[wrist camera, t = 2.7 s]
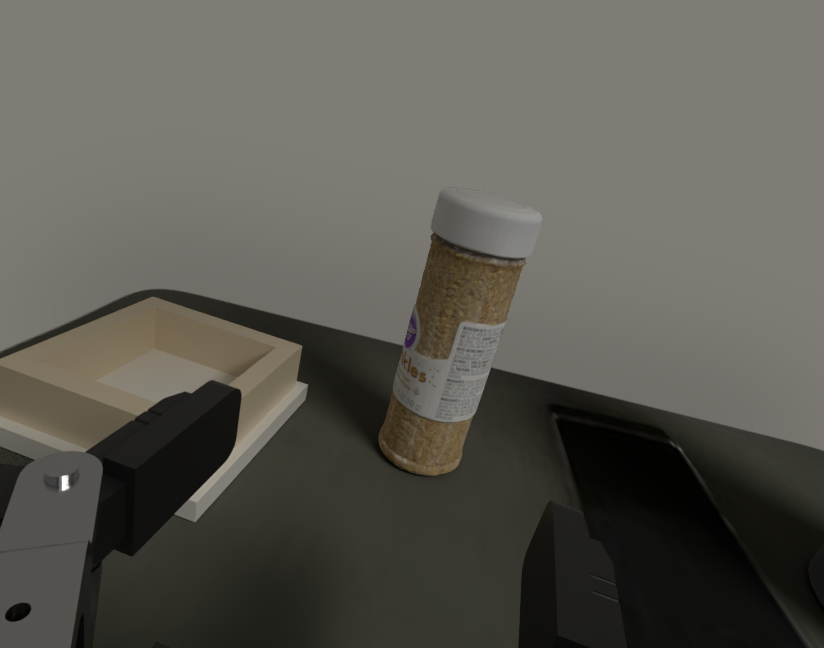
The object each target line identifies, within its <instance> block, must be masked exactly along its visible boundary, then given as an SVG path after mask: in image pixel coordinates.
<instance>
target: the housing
mask: <svg viewBox="0 0 824 648" xmlns="http://www.w3.org/2000/svg"><path fill="white" fill-rule="evenodd" d="M301 351H302V345H298V344H295V343H292V342H289V341H286V340H283V339H280V338H277V337H274V336H271V335H268V334H265V333H262V332H259V331H256V330H253V329H250V328H247V327H244V326H241V325H238V324H235V323H232V322H229V321H225V320H222V319H219V318H216V317H213V316H210V315H207V314H204V313H201V312H198V311H195V310H192V309H189V308H186V307H183V306H180V305H177V304H174V303H171V302H168V301H165V300H162V299H159V298H156V297H151V298H148V299H146V300H143V301H141V302H138V303H136V304H133V305H131V306H129V307H126V308H124V309H121V310H119V311H116V312H114V313H111V314H109V315H107V316H104V317H102V318H99V319H97V320H94V321H92V322H89V323H87V324H85V325H82V326H80V327H77V328H75V329H72V330H70V331H67V332H65V333H63V334H60V335H58V336H55V337H53V338H50V339H48V340H45V341H43V342H40V343H38V344H36V345H33V346H31V347H28V348H26V349H23V350H21V351H18V352H16V353H14V354H11V355H9V356H6V357H4V358H1V359H0V446H1V447H3V448H6V449H8V450H11V451H13V452H16V453H18V454H21V455H24V456H26V457H29V458H31V459H34V460H36V459H38V458H41V457H43V456H46V455H49V454H52V453H57V452H64V451H79V452H86V451H87V450H89V449H90V448H91V447H93V446H94V445H96V444H97V443H99V442H100V441H102V440H103V439H105V438H106V437H108V436H109V435H111V434H112V433H114V432H115V431H117V430H118V429H119V428H121V427H122V426H124V425H125V424H127V423H128V422H130V421H131V420H133V421H134V420H135V418H136V417H137V416H139V415H140V414H142V413H143V412H144V411H146V412H147V411H148V409H149V408H150V407H152V406H153V405H155V404H156V403H158V402H159V401H161V400H162V399H164V398H166V397H169V396H172V395H175V394H179V393H182V392H185V391H186V392H188V393H193V392H194V391H196V390H197V389H198V388H200V387H201V386H203V385H204V384H205V383H207V382H208V381H210V380H214V381H217V382H220V383H223V384H226V385H229V386H231V387H234V388H237V389H240V391H241V394H242V399H241V407H240V414H239V422H238V430H237V438H236V442H235V446H234V448H233V451H232V453H231V454H230V456H229V458H228V459H227V461H226V462H225V463H224V464H223V465H222V466H221V467H220V468H219V469H218V470H217V471H216V472H215V473H214V474H213V475H212V476H211V477H210V478H209V479H208V480H207V481H206V482H205V483H204V484H203V485H202V486H201V487H200V488H199V489H198V490H197V491H196V492H195V493H194V495H193V496H192V497H191V498H190V499H189V500H188V501H187V502H186V503H185V504H184V505H183V506H182V507H181V508H180V509H179V510H178V511H177V512H176V513H175V515H177V516H180V517H182V518H185V519H187V520H190V521H193V522H196V521H197V520H198V519H199V517H200V516H201V515H202V514H203V513H204V512H205V511H206V510H207V509H208V507H209V506H210V505H211V504H212V503H213V502H214V501H215V500H216V499H217V497H218V496H219V495H220V494H221V493H222V492H223V491H224V490H225V489H226V487H227V486H228V485H229V484H230V483H231V482H232V481H233V480H234V479H235V477H236V476H237V475H238V474H239V473H240V472H241V471H242V470H243V469H244V467H245V466H246V465H247V464H248V463H249V462H250V461H251V460H252V459H253V457H254V456H255V455H256V454H257V453H258V452H259V451H260V450H261V449H262V447H263V446H264V445H265V444H266V443H267V442H268V441H269V440H270V439H271V437H272V436H273V435H274V434H275V433H276V432H277V431H278V430H279V429H280V427H281V426H282V425H283V424H284V423H285V422H286V421H287V420H288V419H289V417H290V416H291V415H292V414H293V413H294V412H295V411H296V410H297V409H298V407H299V406H300V405H301V404H302V403H303V402H304V401H305V399H306V394H307V388H308V384H305V383H302V382H299V381H297V376H298V370H299V363H300V357H301Z"/></svg>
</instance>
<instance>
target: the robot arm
mask: <svg viewBox="0 0 824 648" xmlns="http://www.w3.org/2000/svg"><path fill="white" fill-rule="evenodd" d="M241 399H242V394H241V391H240V389H237V388H234V387H231V386H229V385H226V384H223V383H220V382H217V381H214V380H210V381H208V382H207V383H205V384H204V385H203V386H201V387H200V388H198V389H197V390H196V391H194V392H193V393H188V392H186V391H185V392H182V393H179V394H175V395H172V396H169V397H166V398H164V399H162V400H161V401H159V402H158V403H156V404H155V405H153V406H152V407H150V408H149V409H148V411H147V412H146V411H144V412H143V413H142V414H140V415H139V416H137V417H136V418H135V420H134V421H133V420H131V421H130V422H128V423H127V424H125V425H124V426H122V427H121V428H119V429H118V430H117V431H115V432H114V433H112V434H111V435H109V436H108V437H106V438H105V439H103V440H102V441H100V442H99V443H97V444H96V445H94V446H93V447H91V448H90V449H89V450H87V451H86V452H79V451H64V452H57V453H52V454H49V455H46V456H43V457H41V458H38V459H36V460H35V461H33V462H31V463H30V464H28V465H27V466H26V467H24V466H14V465H5V464H0V648H92V646H93V638H94V630H95V622H96V614H97V606H98V598H99V590H100V582H101V574H102V560H103V559H104V558H105V557H106V556H107V555H108V554H109V553H110V552H111V551H112V550H113V549H115V550H117V551H120V552H122V553H125V554H127V555H129V556H133V555H134V554H135V553H136V552H137V551H138V550H139V549H140V548H141V547H142V546H143V545H144V544H145V543H146V542H147V541H148V540H149V539H150V538H151V537H152V536H153V535H154V534H155V533H156V532H157V531H158V530H159V529H160V528H161V527H162V526H163V525H164V524H165V523H166V522H167V521H168V520H169V519H170V518H171V517H172V516H173V515H174V514H175V513H176V512H177V511H178V510H179V509H180V508H181V507H182V506H183V505H184V504H185V503H186V502H187V501H188V500H189V499H190V498H191V497H192V496H193V495H194V493H195V492H196V491H197V490H198V489H199V488H200V487H201V486H202V485H203V484H204V483H205V482H206V481H207V480H208V479H209V478H210V477H211V476H212V475H213V474H214V473H215V472H216V471H217V470H218V469H219V468H220V467H221V466H222V465H223V464H224V463H225V462H226V461H227V459H228V458H229V456H230V454H231V453H232V451H233V448H234V446H235V442H236V438H237V430H238V422H239V414H240V407H241ZM808 573H809V578H810V583H811V585H812V587H813V589H814V591H815V593H816V595H817V597H818V599H819V601H820V602H821V604H822V605H823V607H824V543H823V544H822V545H821V547H820V548H819V549H818V551H817V552H816V553H815V555H814V556H813V558H812V559H811V560H810V563H809V568H808ZM615 584H616V580H615V574H614V568H613V563H612V561H611V559H610V557H609V556H608V554H607V552H606V550H605V549H604V547H603V545H602V544H601V542H600V541H597V540H594V539H592V538H589V537H586V531H585V522H584V515H583V512H582V511H580V510H577V509H574V508H571V507H568V506H566V505H563V504H560V503H557V502H554V501H549V502H548V504H547V506H546V508H545V510H544V512H543V515H542V517H541V519H540V522H539V524H538V526H537V528H536V531H535V533H534V535H533V538H532V540H531V542H530V544H529V547H528V549H527V552H526V555H525V559H524V563H523V569H522V579H521V603H520V626H519V648H627V644H626V638H625V632H624V627H623V621H622V615H621V609H620V604H619V603H618V600H619V598H618V592H617V587H616V586H615ZM152 648H169V647H167V646H165V645H162V644H160V643H158V642H156V643H155V645H154V646H153V647H152Z"/></svg>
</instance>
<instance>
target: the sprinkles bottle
mask: <svg viewBox="0 0 824 648" xmlns="http://www.w3.org/2000/svg"><path fill="white" fill-rule="evenodd" d="M541 223H542V216H541V215H540V213H539V212H538V211H536V210H534V209H533V208H531V207H529V206H526V205H524V204H522V203H519V202H516V201H514V200H511V199H508V198H505V197H502V196H498V195H495V194H491V193H487V192H482V191H477V190H472V189H465V188H457V187H448V188H444V189H443V190H442V191H441V192H440V194H439V197H438V200H437V204H436V207H435V211H434V215H433V219H432V223H431V229H432V231H433V232H434V233H433V234H432V235H431V240H432V243H431V248H430V250H429V254H428V258H427V263H426V267H425V270H424V273H423V277H422V282H421V287H420V290H419V293H418V297H417V302H416V304H415V306H414V308H413V312H412V315H411V319H410V323H409V327H408V331H407V335H406V338H405V343H404V346H403V350H402V354H401V358H400V361H399V365H398V368H397V372H396V376H395V379H394V383H393V392H392V396H391V399H390V403H389V407H388V411H387V414H386V419H385V422H384V424H383V426H382V427H381V429H380V433H379V437H378V440H379V446H380V448H381V450H382V452H383V454H384V455H385V456H386V457H387V459H389V460H390V461H391V462H393V463H394V464H395V465H396V466H398V467H399V468H401V469H404V470H406V471H408V472H410V473H414V474H418V475H428V476H435V475H440V474H445V473H448V472H450V471H452V470H454V469H455V468H456V467H458V465H459V462H460V460H461V458H462V447H463V444H464V441H465V438H466V435H467V432H468V429H469V426H470V423H471V420H472V418H473V415H474V414H475V412H476V410H477V407H478V404H479V401H480V398H481V395H482V392H483V390H484V387H485V384H486V381H487V378H488V375H489V372H490V369H491V366H492V362H493V360H494V357H495V354H496V351H497V348H498V345H499V342H500V339H501V335H502V333H503V330H504V327H505V324H506V321H507V314H508V311H509V307H510V304H511V301H512V299H513V296H514V293H515V290H516V286H517V283H518V280H519V276H520V273H521V271H522V267H523V266H524V265H525V264H526V261H525V259H526V257H529V256H530V255H531V254H532V251H533V248H534V245H535V242H536V239H537V236H538V233H539V230H540V226H541Z"/></svg>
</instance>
